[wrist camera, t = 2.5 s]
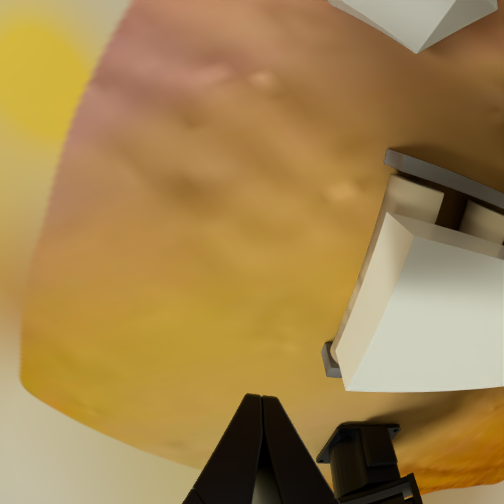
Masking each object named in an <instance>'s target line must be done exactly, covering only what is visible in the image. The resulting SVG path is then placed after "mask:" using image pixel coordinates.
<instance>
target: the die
mask: <svg viewBox="0 0 504 504" xmlns="http://www.w3.org/2000/svg"><path fill="white" fill-rule="evenodd" d="M328 2H329V3H330V5H332V6H334V7H336V8H338V9H340V10H342V11H344V12H346V13H348V14H350V15H352V16H354V17H356V18H358V19H359V20H361V21H363V22H365V23H367V24H369V25H370V26H372V27H374V28H376V29H377V30H379V31H381V32H382V33H384V34H386V35H387V36H389V37H391V38H392V39H394V40H395V41H397V42H399V43H400V44H402V45H403V46H405V47H406V48H408V49H409V50H411V51H412V52H414V53H415V54H418V53H419V52H421V51H423V50H424V49H426V48H428V47H429V46H431V45H433V44H435V43H436V42H438V41H440V40H442V39H443V38H445V37H447V36H449V35H451V34H452V33H454V32H456V31H458V30H460V29H462V28H463V27H465V26H467V25H469V24H471V23H473V22H475V21H477V20H479V19H481V18H483V17H484V16H486V15H488V14H490V13H492V12H494V11H496V10H498V6H497V0H328Z"/></svg>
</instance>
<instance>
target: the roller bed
mask: <svg viewBox="0 0 504 504" xmlns="http://www.w3.org/2000/svg"><path fill="white" fill-rule="evenodd" d="M384 163H385V164H387V165H389V166H391V167H393V168H396V169H398V170H400V171H402V172H405V173H408V174H411V175H415V176H418V177H421V178H424V179H427V180H430V181H433V182H435V183H438V184H441V185H444V186H447V187H450V188H452V189H455V190H458V191H460V192H463V193H466V194H468V195H471V196H473V197H476V198H479V199H481V200H484V201H486V202H488V203H491V204H493V205H496V206H498V207H500V208H503V209H504V194H503V193H501V192H499V191H497V190H495V189H492V188H490V187H488V186H486V185H483V184H481V183H479V182H476V181H474V180H472V179H469V178H467V177H464V176H462V175H460V174H457V173H455V172H452V171H449V170H447V169H444V168H442V167H439V166H436V165H434V164H431V163H428V162H425V161H422V160H420V159H417V158H414V157H411V156H408V155H405V154H402V153H399V152H396V151H393V150H390V149H387V152H386V156H385V160H384ZM443 196H444V193H443V192H441V191H439V190H437V189H435V188H433V187H431V186H428V185H426V184H423V183H421V182H418V181H415V180H412V179H409V178H406V177H403V176H399V175H395V174H390V177H389V181H388V184H387V188H386V191H385V195H384V198H383V202H382V205H381V209H380V212H379V215H378V219H377V222H376V225H375V229H374V232H373V235H372V238H371V241H370V244H369V247H368V250H367V253H366V256H365V259H364V262H363V265H362V268H361V271H360V274H359V276H358V279H357V282H356V285H355V287H354V290H353V293H352V296H351V298H350V301H349V304H348V306H347V309H346V311H345V314H344V316H343V319H342V322H341V324H340V327H339V329H338V332H337V334H336V336H335V339H334V341H333V344H331V343H325V344H324V347H323V349H322V357H323V362H324V366H325V371H326V376H327V377H335V378H342V374H341V370H340V367H339V363H338V359H337V355H336V348H337V346H338V344H339V341H340V339H341V337H342V334H343V332H344V329H345V327H346V325H347V322H348V320H349V317H350V315H351V312H352V310H353V307H354V305H355V302H356V299H357V297H358V294H359V292H360V289H361V286H362V284H363V281H364V278H365V275H366V273H367V270H368V267H369V264H370V261H371V258H372V255H373V253H374V250H375V247H376V244H377V241H378V238H379V234H380V231H381V228H382V225H383V222H384V219H385V215H386V212H390V213H394V214H398V215H401V216H405V217H409V218H413V219H416V220H420V221H424V222H427V223H431V224H435V222H436V219H437V216H438V213H439V209H440V206H441V203H442V200H443ZM458 231H459V232H462V233H465V234H469V235H472V236H475V237H478V238H481V239H485V240H488V241H491V242H494V243H497V244H500V245H502V243H503V241H504V215H503V214H501V213H500V212H498V211H496V210H494V209H492V208H489V207H487V206H485V205H483V204H480V203H478V202H475V201H473V200H469V199H468V202H467V205H466V208H465V212H464V215H463V218H462V221H461V224H460V226H459V229H458Z"/></svg>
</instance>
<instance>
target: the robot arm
mask: <svg viewBox="0 0 504 504" xmlns="http://www.w3.org/2000/svg"><path fill="white" fill-rule="evenodd" d="M400 429H401V428H400V425H399V424H392V425H341V426H339V427H337V428H336V430H335V431H334V433H333V434H332V436H331V437H330V439H329V440H328V442H327V443H326V445H325V446H324V448H323V449H322V451H321V452H320V453H319V455H318V456H317V458H316V462H317V463H330V466H331V474H332V481H333V488H334V493H333V491H332V490H331V488H330V486H329V485H328V483H327V482H326V480H325V478H324V477H323V475H322V473H321V472H320V470H319V468H318V467H317V465H316V463H315V462H314V460H313V458H312V457H311V455H310V453H309V452H308V450H307V448H306V446H305V445H304V443H303V441H302V440H301V438H300V436H299V434H298V433H297V431H296V429H295V427H294V426H293V424H292V422H291V420H290V419H289V417H288V415H287V413H286V412H285V410H284V408H283V406H282V405H281V403H280V401H279V399H278V398H277V397H274V396H266V395H264V396H262V397H261V396H260V395H258V394H250V393H247V394H246V395H245V396H244V398H243V400H242V402H241V403H240V405H239V407H238V409H237V411H236V413H235V414H234V416H233V418H232V420H231V422H230V423H229V425H228V427H227V429H226V431H225V432H224V434H223V436H222V438H221V440H220V441H219V443H218V445H217V447H216V448H215V450H214V452H213V453H212V455H211V457H210V459H209V460H208V462H207V464H206V465H205V467H204V469H203V471H202V472H201V474H200V476H199V477H198V479H197V481H196V483H195V484H194V486H193V489H191V490H190V492H189V493H188V495H187V497H186V499H185V500H184V501H183V503H182V504H423V503H422V499H421V496H420V493H419V489H418V486H417V483H416V480H415V477H414V474H413V473H410V474H408V475H407V476H405V477H403V478H401V477H400V473H399V469H398V466H397V462H398V461H397V457H396V454H395V450H394V447H393V444H392V439H393V438H394V437H395V436H396V435H397V433H398V432H399V431H400ZM410 495H412V497H411V498H408V499H406V500H404V497H407V496H410ZM334 497H335V498H334Z"/></svg>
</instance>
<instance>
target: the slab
mask: <svg viewBox="0 0 504 504" xmlns="http://www.w3.org/2000/svg"><path fill="white" fill-rule="evenodd" d="M336 355H337V359H338V363H339V367H340V370H341V374H342V378H343V382H344V386H345V390H346V391H364V392H435V391H455V390H470V389H482V388H492V387H501V386H504V246H503V245H500V244H497V243H494V242H491V241H488V240H485V239H481V238H478V237H475V236H472V235H469V234H465V233H462V232H459V231H455V230H452V229H448V228H445V227H442V226H438V225H435V224H431V223H427V222H424V221H420V220H416V219H413V218H409V217H405V216H401V215H398V214H394V213H390V212H386V215H385V219H384V222H383V225H382V228H381V231H380V234H379V238H378V241H377V244H376V247H375V250H374V253H373V255H372V258H371V261H370V264H369V267H368V270H367V273H366V275H365V278H364V281H363V284H362V286H361V289H360V292H359V294H358V297H357V299H356V302H355V305H354V307H353V310H352V312H351V315H350V317H349V320H348V322H347V325H346V327H345V329H344V332H343V334H342V337H341V339H340V341H339V344H338V346H337V348H336Z"/></svg>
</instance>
